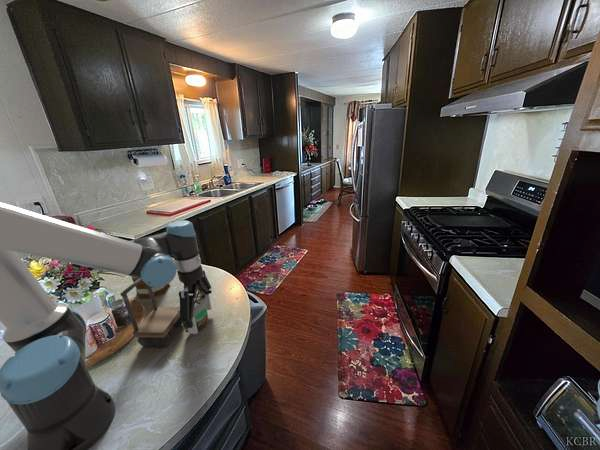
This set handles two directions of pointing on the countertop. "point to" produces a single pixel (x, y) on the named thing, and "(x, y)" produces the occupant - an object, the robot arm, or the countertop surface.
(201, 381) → the countertop surface
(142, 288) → the mug
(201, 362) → the countertop surface
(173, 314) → the trolley
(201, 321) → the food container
